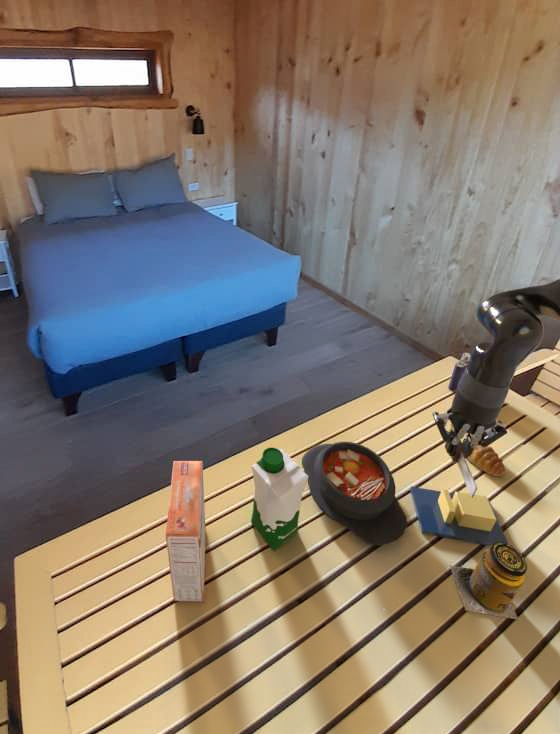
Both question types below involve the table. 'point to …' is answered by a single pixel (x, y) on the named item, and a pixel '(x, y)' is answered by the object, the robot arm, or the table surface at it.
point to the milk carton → (277, 496)
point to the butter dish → (446, 529)
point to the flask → (458, 371)
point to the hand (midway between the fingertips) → (456, 453)
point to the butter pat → (446, 506)
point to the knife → (464, 468)
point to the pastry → (487, 460)
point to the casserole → (355, 491)
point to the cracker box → (187, 531)
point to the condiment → (492, 581)
